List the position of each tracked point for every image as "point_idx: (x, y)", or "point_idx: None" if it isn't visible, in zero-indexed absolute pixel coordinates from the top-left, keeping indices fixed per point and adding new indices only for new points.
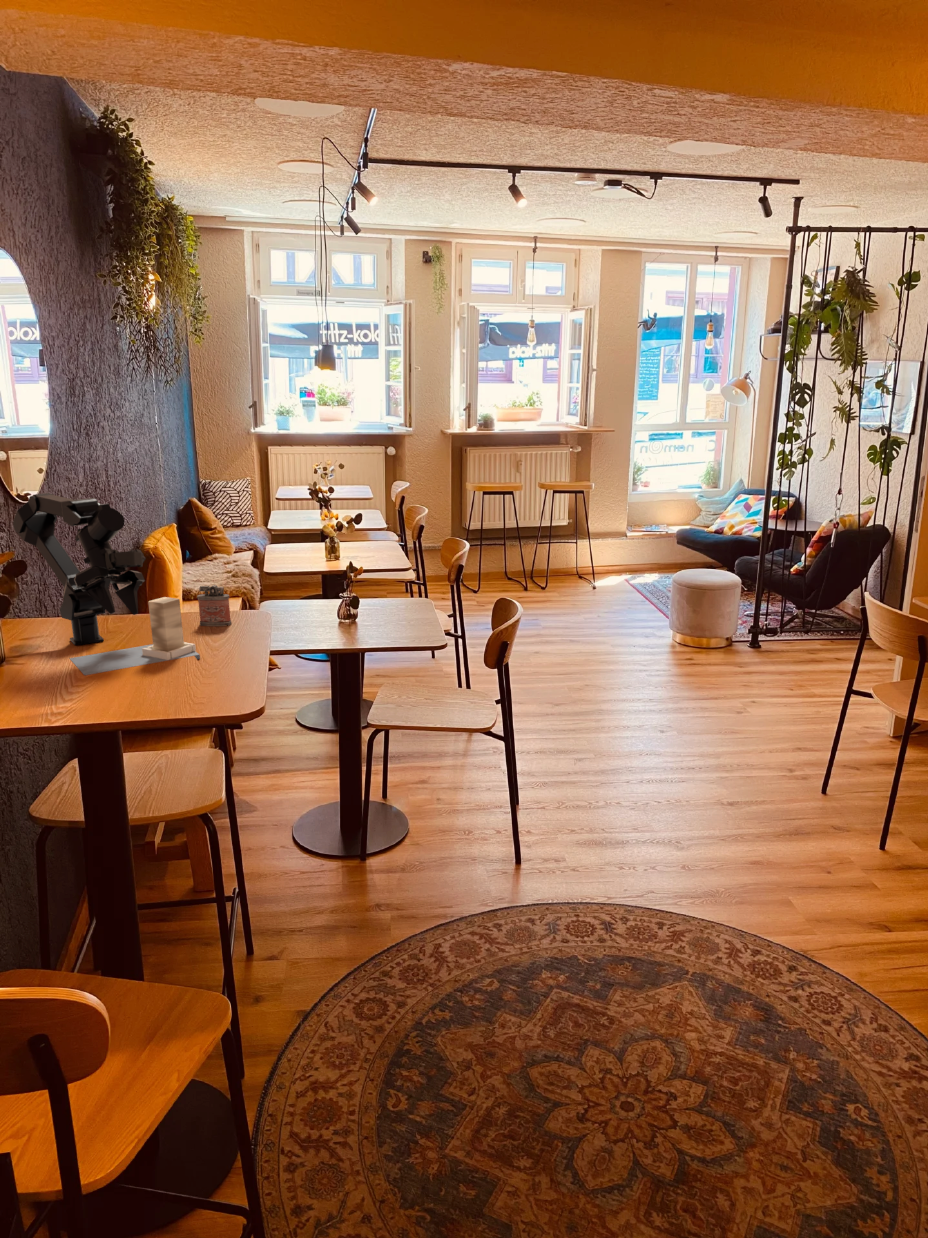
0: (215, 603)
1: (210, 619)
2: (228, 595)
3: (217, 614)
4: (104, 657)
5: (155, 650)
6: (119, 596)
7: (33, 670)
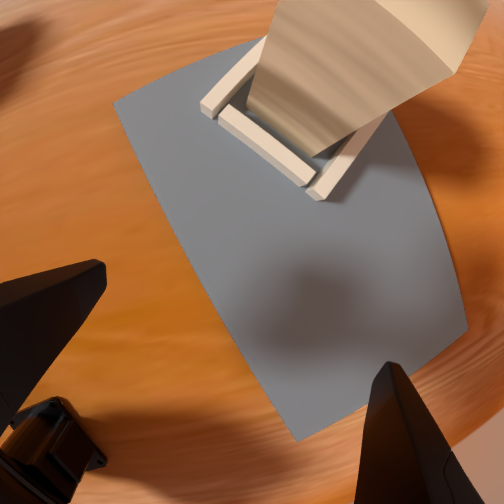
0: None
1: None
2: None
3: None
4: (318, 340)
5: (361, 139)
6: (5, 423)
7: (339, 480)
